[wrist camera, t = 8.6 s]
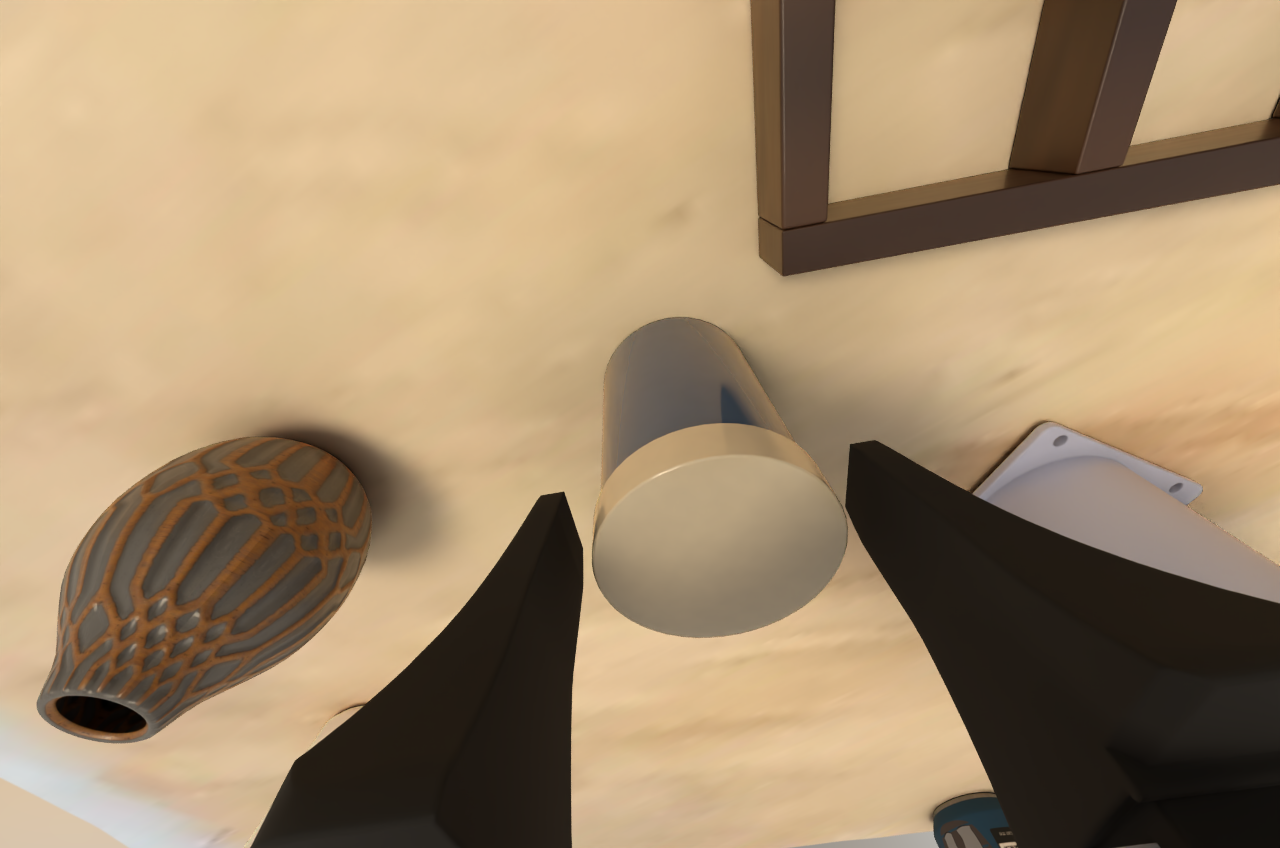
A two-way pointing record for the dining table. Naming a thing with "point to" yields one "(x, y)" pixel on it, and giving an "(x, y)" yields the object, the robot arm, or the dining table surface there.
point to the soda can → (972, 823)
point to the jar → (705, 491)
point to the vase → (202, 583)
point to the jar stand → (1042, 153)
